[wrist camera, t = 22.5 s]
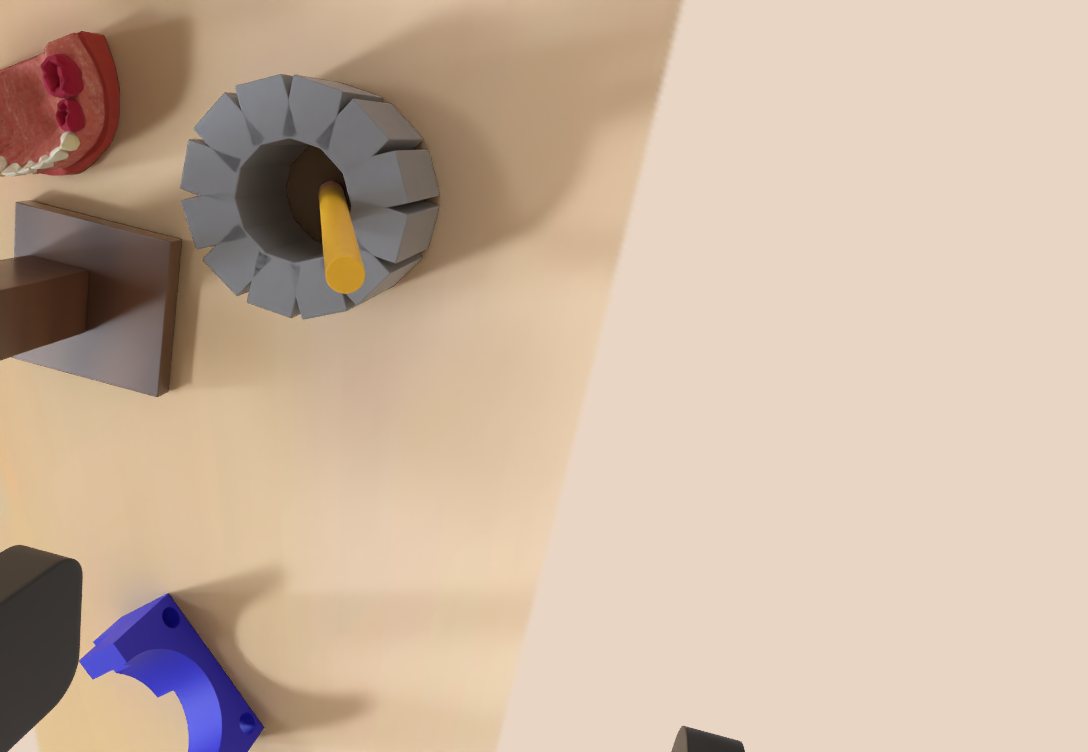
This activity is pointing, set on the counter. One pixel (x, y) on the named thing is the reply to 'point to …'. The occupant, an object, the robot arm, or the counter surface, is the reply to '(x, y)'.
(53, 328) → the brown pedestal stand
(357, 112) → the grey segmented ring
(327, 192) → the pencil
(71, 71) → the anatomical model
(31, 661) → the robot arm
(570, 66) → the counter surface
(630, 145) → the counter surface
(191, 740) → the cable clip
